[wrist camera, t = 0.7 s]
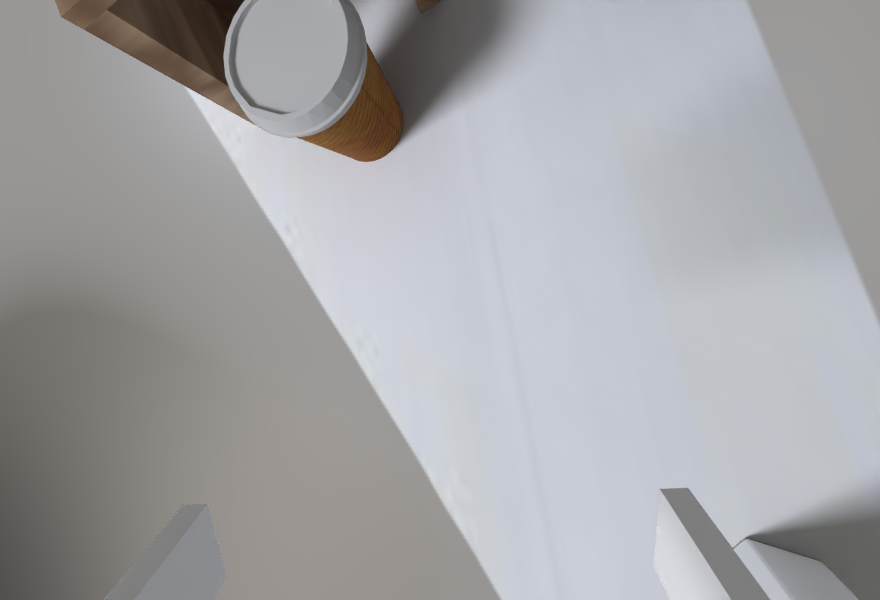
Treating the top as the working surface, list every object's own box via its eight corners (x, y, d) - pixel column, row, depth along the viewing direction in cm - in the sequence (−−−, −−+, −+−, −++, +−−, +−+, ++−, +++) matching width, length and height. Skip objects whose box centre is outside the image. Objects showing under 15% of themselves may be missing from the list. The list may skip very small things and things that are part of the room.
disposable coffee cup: (301, 128, 39) (191, 57, 27) (374, 46, 37) (289, -68, 25) (364, 203, 37) (276, 162, 26) (444, 122, 35) (388, 38, 24)
